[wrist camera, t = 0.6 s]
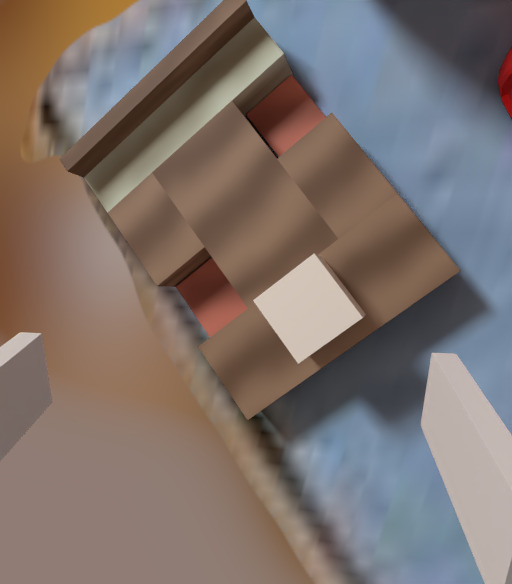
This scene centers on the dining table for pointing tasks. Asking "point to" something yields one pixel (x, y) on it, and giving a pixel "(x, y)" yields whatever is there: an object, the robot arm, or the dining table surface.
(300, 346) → the block
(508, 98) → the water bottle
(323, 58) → the dining table surface
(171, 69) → the wooden board
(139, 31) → the dining table surface
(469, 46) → the dining table surface
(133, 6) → the dining table surface
